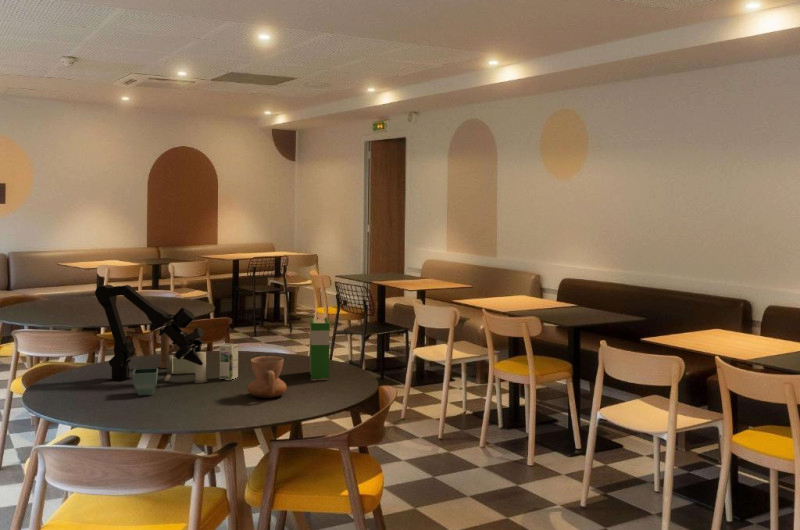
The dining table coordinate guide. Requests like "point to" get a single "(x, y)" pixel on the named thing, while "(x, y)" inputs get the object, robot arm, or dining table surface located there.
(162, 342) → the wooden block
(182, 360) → the beige flat block
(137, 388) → the flower pot
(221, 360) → the syrup box
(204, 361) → the beige dome-topped cylinder
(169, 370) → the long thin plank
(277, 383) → the ceramic jug
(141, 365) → the dining table surface
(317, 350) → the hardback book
